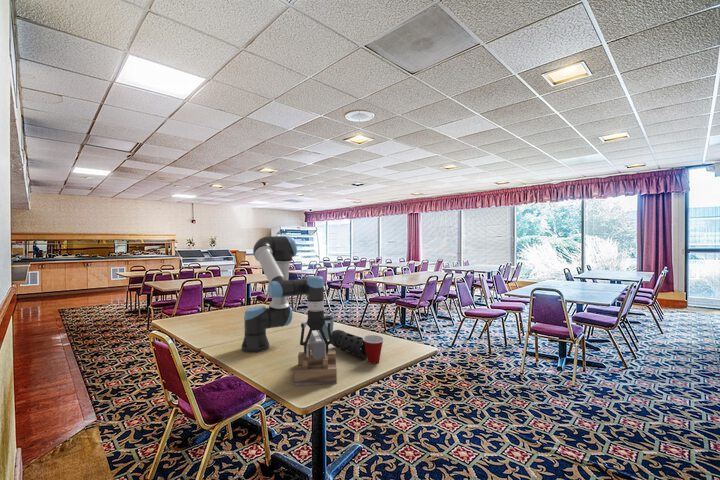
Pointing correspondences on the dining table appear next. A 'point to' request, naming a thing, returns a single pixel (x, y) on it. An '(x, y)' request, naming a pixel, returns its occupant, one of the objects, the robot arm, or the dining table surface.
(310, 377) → the rack
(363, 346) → the black perforated cylinder
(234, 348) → the dining table surface
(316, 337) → the gray rectangular block
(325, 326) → the grey green pot
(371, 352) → the plastic cup
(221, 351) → the dining table surface
